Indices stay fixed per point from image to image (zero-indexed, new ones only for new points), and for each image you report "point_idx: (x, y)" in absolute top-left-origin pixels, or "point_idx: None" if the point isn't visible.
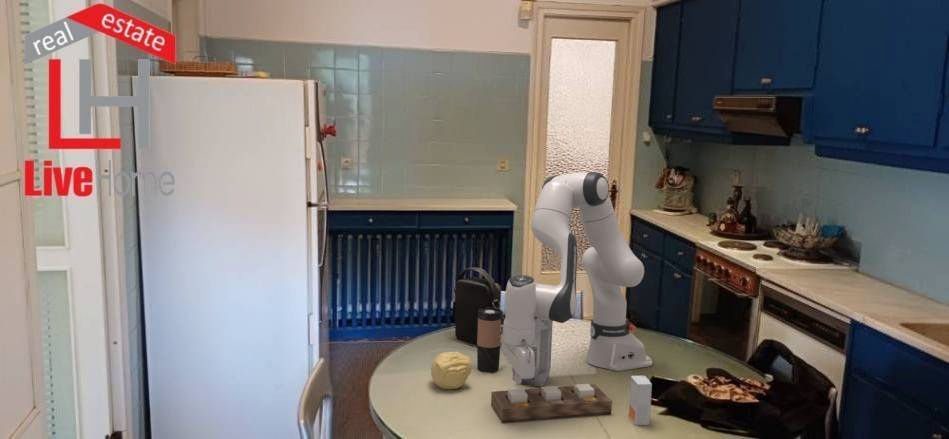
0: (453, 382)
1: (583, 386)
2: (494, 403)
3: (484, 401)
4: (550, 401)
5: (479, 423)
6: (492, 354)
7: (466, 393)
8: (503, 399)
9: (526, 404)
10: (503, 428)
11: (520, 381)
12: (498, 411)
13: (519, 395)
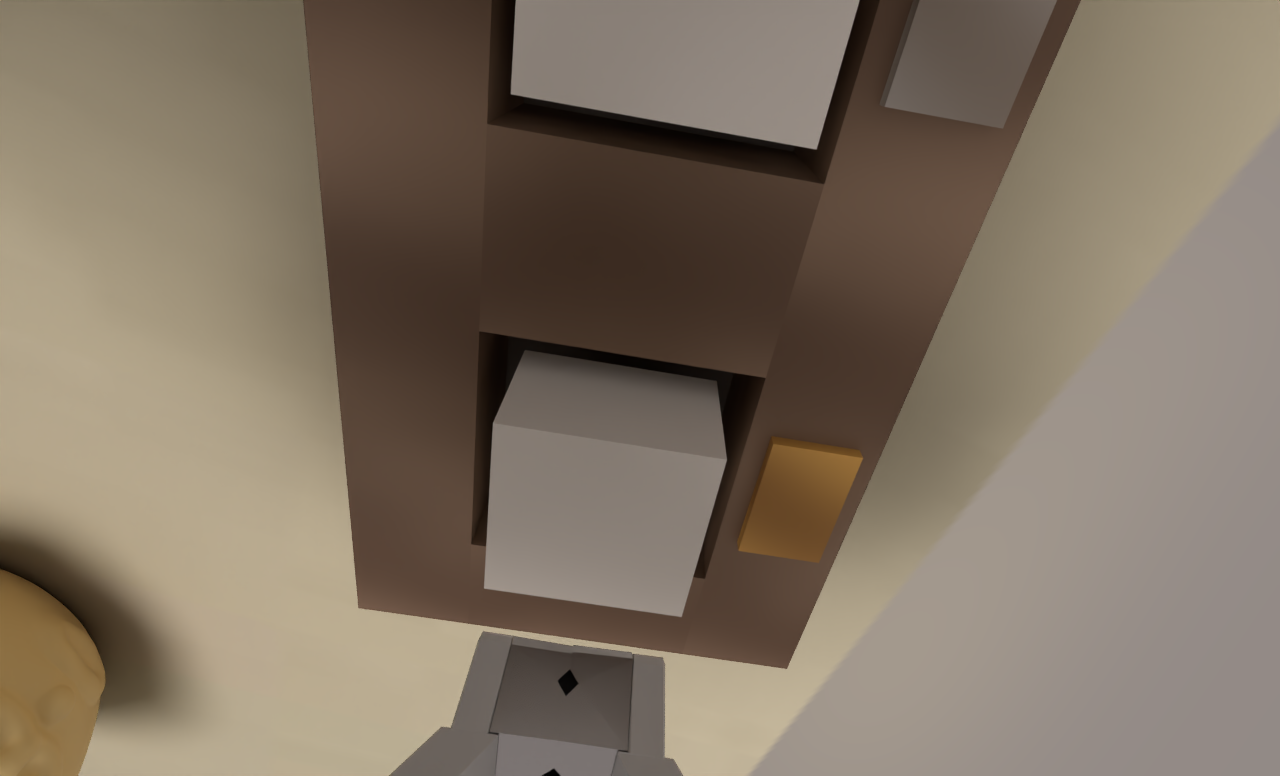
0: (79, 716)
1: None
2: None
3: (333, 526)
4: (911, 110)
5: (698, 671)
6: None
7: (163, 581)
8: None
9: (822, 468)
10: (847, 584)
11: (661, 695)
12: None
13: (699, 546)
